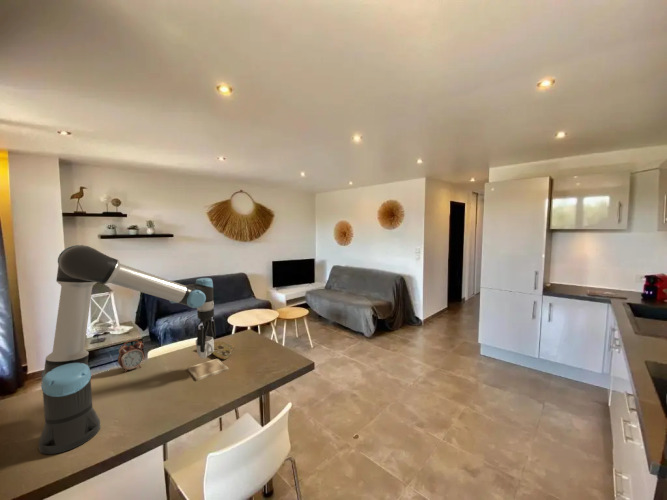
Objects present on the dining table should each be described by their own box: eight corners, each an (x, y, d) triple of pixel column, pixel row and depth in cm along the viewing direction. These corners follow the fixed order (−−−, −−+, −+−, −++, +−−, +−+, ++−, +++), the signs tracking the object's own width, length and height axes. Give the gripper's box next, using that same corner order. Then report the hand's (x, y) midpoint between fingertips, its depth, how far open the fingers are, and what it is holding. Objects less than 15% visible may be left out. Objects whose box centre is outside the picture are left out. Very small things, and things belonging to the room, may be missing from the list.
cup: (220, 354, 140) (219, 339, 140) (205, 361, 134) (205, 345, 133) (207, 349, 146) (206, 335, 146) (192, 355, 140) (192, 340, 139)
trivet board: (196, 381, 130) (196, 378, 130) (187, 369, 142) (187, 367, 141) (228, 370, 141) (228, 368, 140) (217, 360, 152) (217, 358, 152)
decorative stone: (198, 348, 165) (200, 340, 165) (223, 344, 176) (225, 336, 176) (217, 367, 148) (219, 357, 148) (243, 361, 160) (245, 352, 159)
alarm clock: (121, 375, 136) (119, 345, 135) (117, 372, 139) (115, 342, 138) (146, 366, 145) (144, 338, 144) (142, 363, 148) (141, 336, 147)
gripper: (202, 315, 129) (204, 363, 131) (221, 304, 149) (223, 346, 150) (186, 315, 129) (189, 363, 131) (208, 304, 149) (209, 346, 151)
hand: (207, 354), depth 141 cm, fingers closed on cup, 7 cm apart
